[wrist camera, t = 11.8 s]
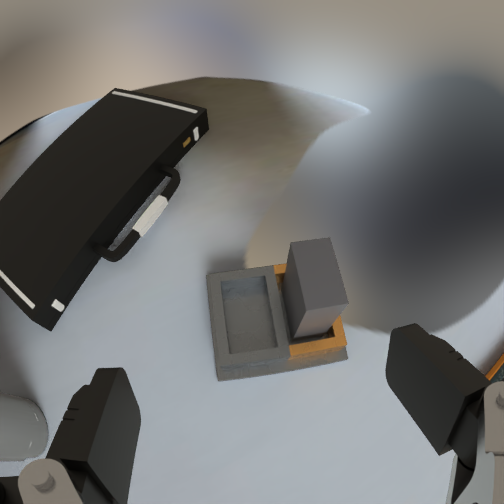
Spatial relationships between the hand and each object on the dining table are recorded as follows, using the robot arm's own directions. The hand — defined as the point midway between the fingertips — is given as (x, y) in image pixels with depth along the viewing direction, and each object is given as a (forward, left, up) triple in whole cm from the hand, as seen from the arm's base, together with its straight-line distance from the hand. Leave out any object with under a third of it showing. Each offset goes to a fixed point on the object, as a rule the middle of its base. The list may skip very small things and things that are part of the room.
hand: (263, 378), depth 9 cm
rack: (+10, +5, -30) cm, 32 cm away
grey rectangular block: (+13, +2, -29) cm, 32 cm away
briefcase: (+9, +42, -31) cm, 53 cm away
